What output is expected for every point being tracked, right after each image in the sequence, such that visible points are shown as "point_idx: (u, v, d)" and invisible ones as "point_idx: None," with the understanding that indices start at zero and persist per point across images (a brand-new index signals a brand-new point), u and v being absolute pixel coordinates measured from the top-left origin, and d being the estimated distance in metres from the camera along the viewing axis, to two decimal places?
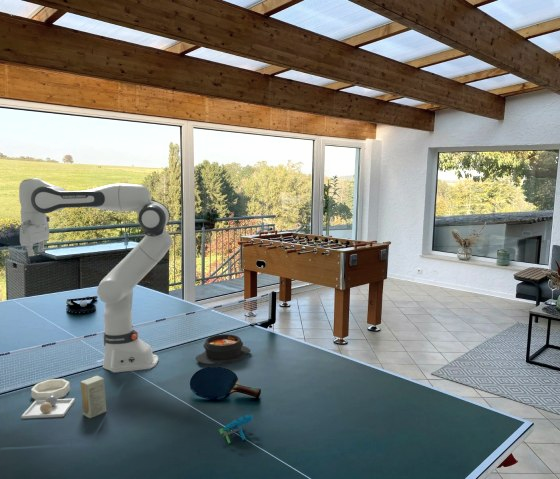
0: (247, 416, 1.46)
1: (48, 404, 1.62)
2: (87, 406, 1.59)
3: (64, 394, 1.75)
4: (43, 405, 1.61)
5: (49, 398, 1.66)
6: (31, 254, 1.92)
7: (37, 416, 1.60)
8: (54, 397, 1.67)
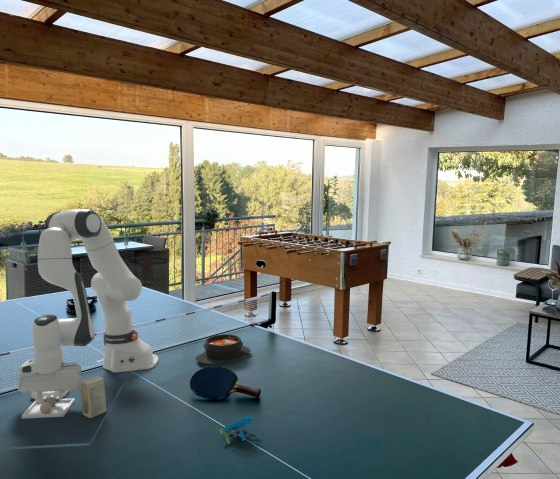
0: (247, 417, 1.46)
1: (48, 404, 1.62)
2: (87, 406, 1.59)
3: (64, 394, 1.75)
4: (43, 405, 1.61)
5: (49, 398, 1.66)
6: (61, 399, 1.68)
7: (37, 416, 1.60)
8: (54, 397, 1.67)
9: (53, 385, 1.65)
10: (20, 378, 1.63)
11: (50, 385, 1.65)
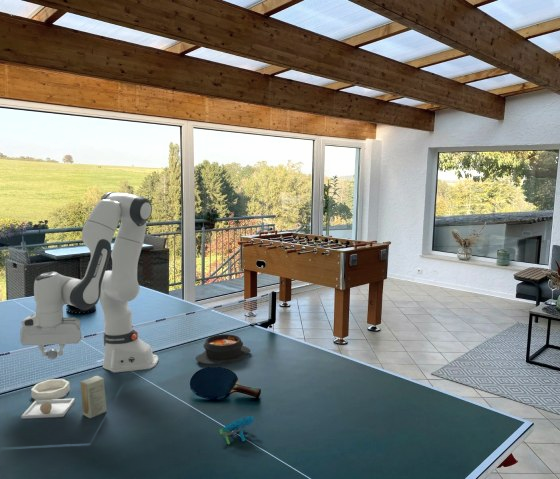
0: (247, 417, 1.45)
1: (48, 404, 1.62)
2: (87, 406, 1.59)
3: (64, 394, 1.75)
4: (43, 405, 1.61)
5: (50, 351, 1.74)
6: (62, 353, 1.76)
7: (37, 416, 1.60)
8: (55, 350, 1.75)
9: (53, 338, 1.73)
10: (22, 331, 1.71)
11: (51, 338, 1.73)
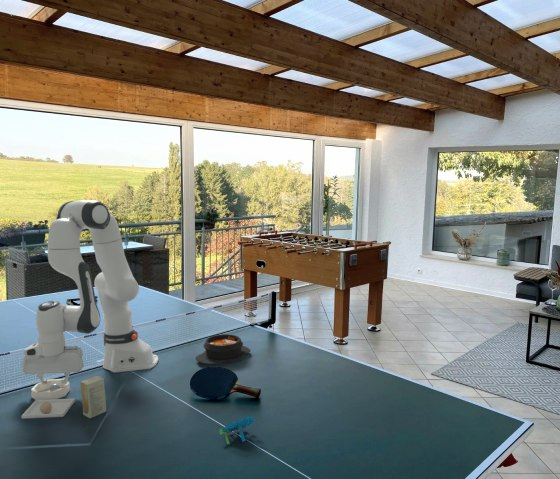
0: (247, 418, 1.45)
1: (48, 404, 1.62)
2: (87, 406, 1.59)
3: (64, 394, 1.75)
4: (43, 405, 1.61)
5: (53, 386, 1.76)
6: (67, 381, 1.78)
7: (37, 416, 1.60)
8: (57, 385, 1.77)
9: (56, 367, 1.74)
10: (24, 361, 1.73)
11: (53, 367, 1.74)
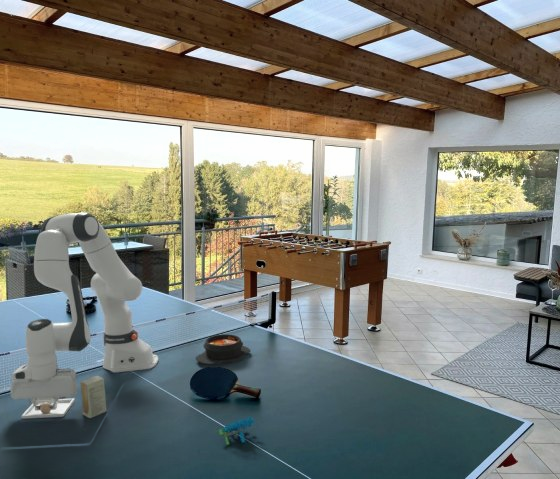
0: (247, 419, 1.45)
1: (48, 404, 1.62)
2: (87, 406, 1.59)
3: None
4: (43, 405, 1.61)
5: None
6: (56, 406, 1.63)
7: (37, 416, 1.60)
8: None
9: (47, 391, 1.60)
10: (13, 385, 1.58)
11: (44, 392, 1.60)
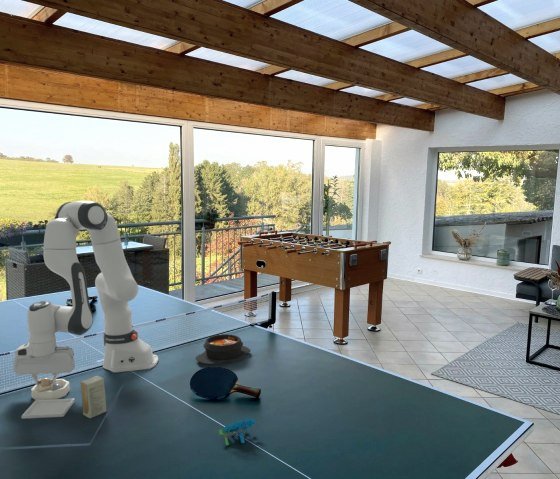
0: (247, 420, 1.44)
1: (48, 379, 1.76)
2: (87, 406, 1.59)
3: (64, 394, 1.75)
4: (43, 380, 1.75)
5: (56, 387, 1.76)
6: (55, 381, 1.77)
7: (37, 416, 1.60)
8: (61, 387, 1.77)
9: (47, 367, 1.74)
10: (16, 361, 1.72)
11: (44, 368, 1.74)
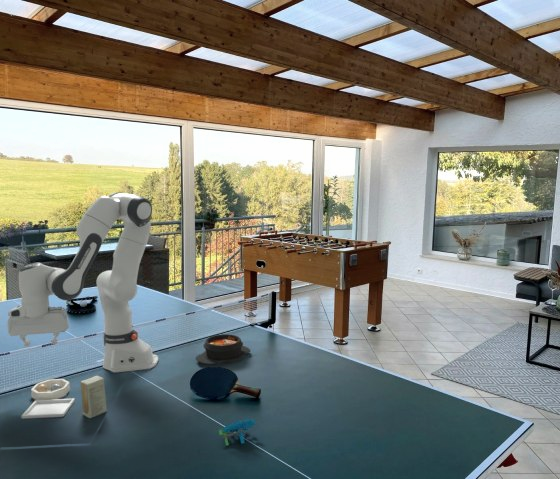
0: (246, 420, 1.44)
1: (40, 386, 1.76)
2: (87, 406, 1.59)
3: (64, 394, 1.75)
4: (37, 389, 1.75)
5: (54, 387, 1.75)
6: (56, 341, 1.79)
7: (37, 416, 1.60)
8: (59, 386, 1.76)
9: (41, 327, 1.76)
10: (9, 322, 1.74)
11: (38, 328, 1.76)
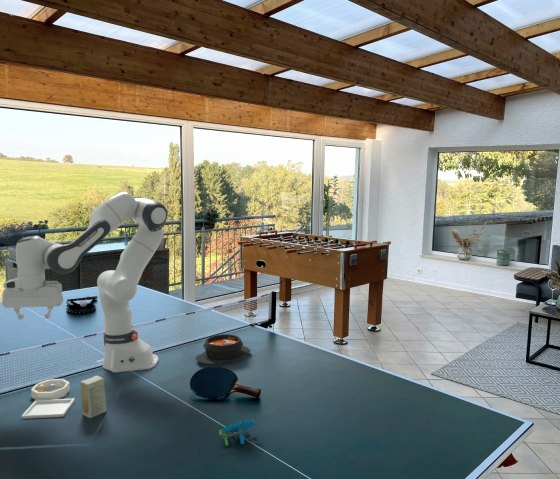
0: (246, 421, 1.43)
1: (38, 386, 1.76)
2: (87, 406, 1.59)
3: (64, 394, 1.75)
4: (36, 390, 1.75)
5: (48, 388, 1.75)
6: (50, 316, 1.79)
7: (37, 416, 1.60)
8: (52, 385, 1.76)
9: (35, 301, 1.76)
10: (4, 294, 1.74)
11: (33, 301, 1.76)
